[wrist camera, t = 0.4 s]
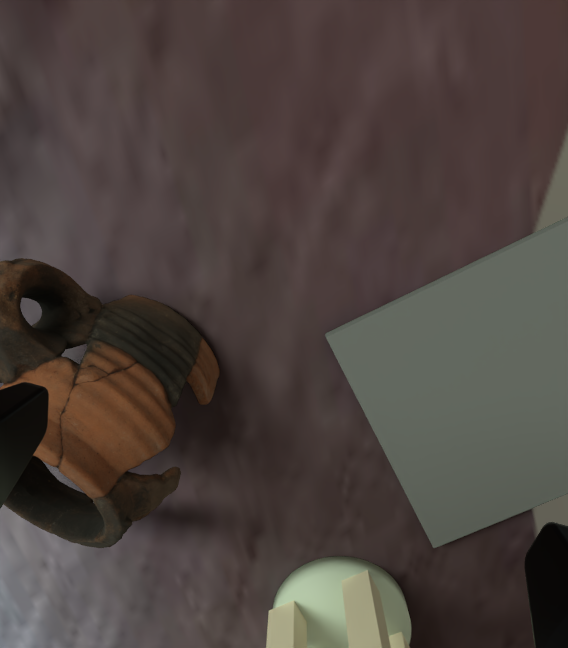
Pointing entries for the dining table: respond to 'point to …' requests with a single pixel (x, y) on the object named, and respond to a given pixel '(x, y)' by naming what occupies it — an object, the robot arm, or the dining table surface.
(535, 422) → the mat
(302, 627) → the stool
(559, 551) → the robot arm
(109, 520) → the brown curved piece
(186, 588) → the dining table surface
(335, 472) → the dining table surface
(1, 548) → the dining table surface
